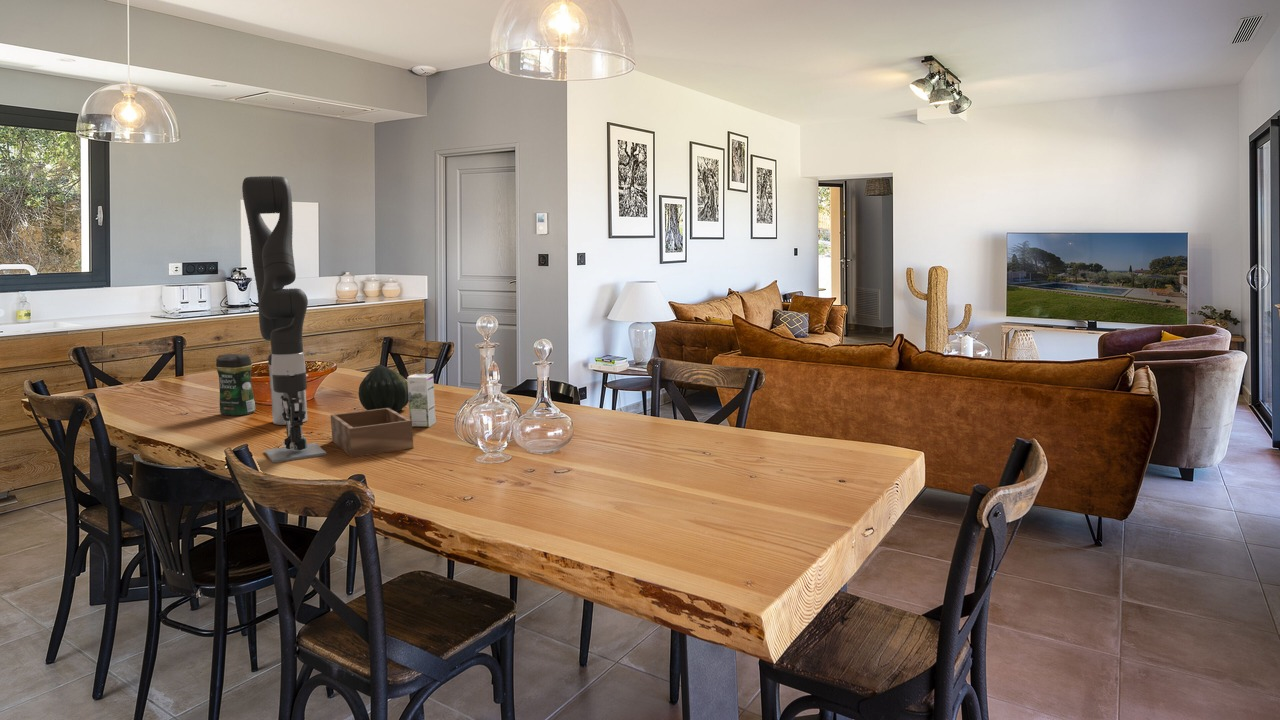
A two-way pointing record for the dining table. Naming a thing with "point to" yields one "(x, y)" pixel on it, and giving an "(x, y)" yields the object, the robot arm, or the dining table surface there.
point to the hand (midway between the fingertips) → (294, 439)
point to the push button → (287, 441)
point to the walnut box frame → (371, 432)
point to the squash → (383, 390)
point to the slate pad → (294, 453)
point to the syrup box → (421, 400)
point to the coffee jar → (235, 384)
